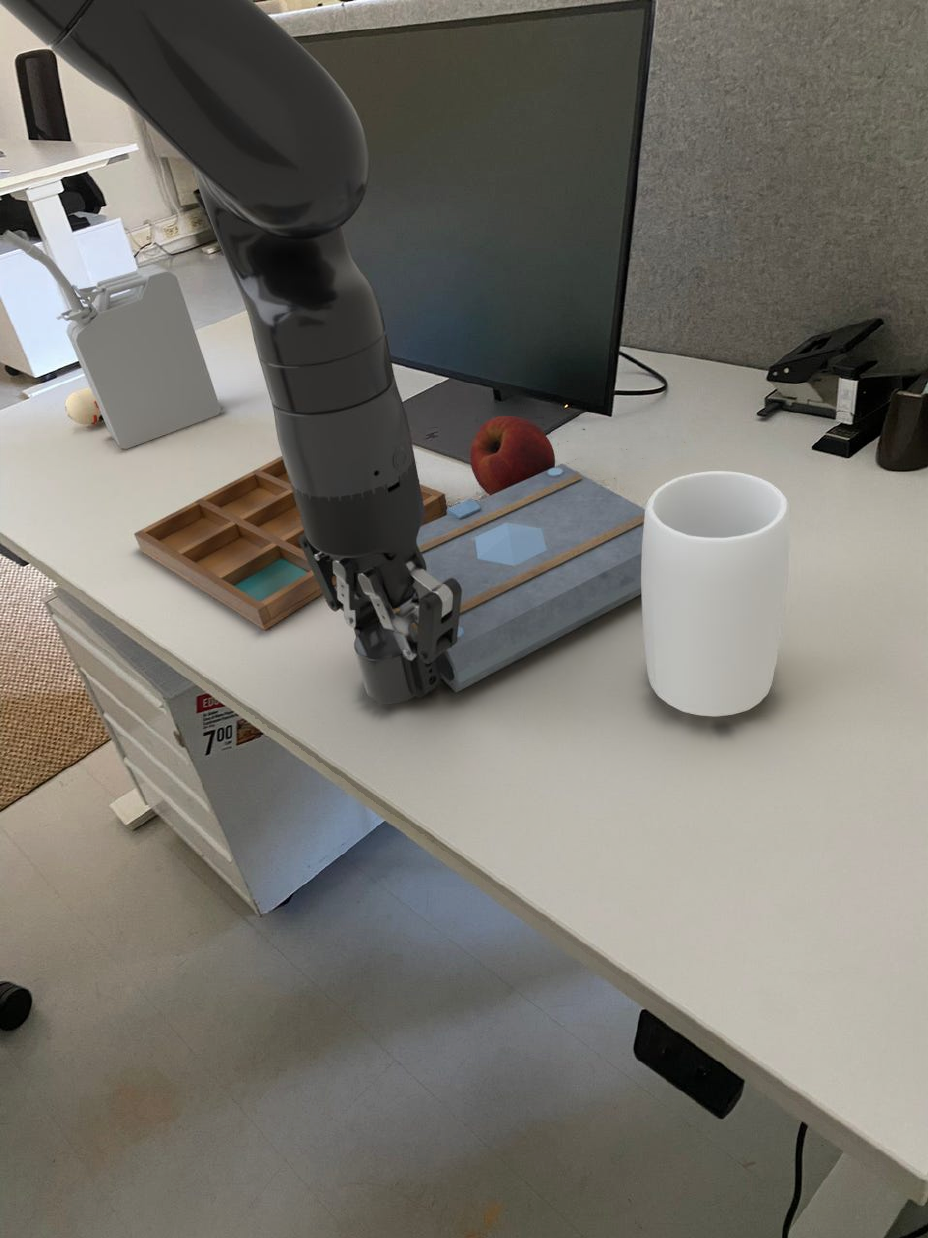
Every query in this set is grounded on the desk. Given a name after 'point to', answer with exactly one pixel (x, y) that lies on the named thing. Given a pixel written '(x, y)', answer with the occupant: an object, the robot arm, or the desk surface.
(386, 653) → the dark grey cylinder
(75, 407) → the toy figurine
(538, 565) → the book
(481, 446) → the apple
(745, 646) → the cup
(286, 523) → the board
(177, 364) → the fuel canister
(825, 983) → the desk surface
